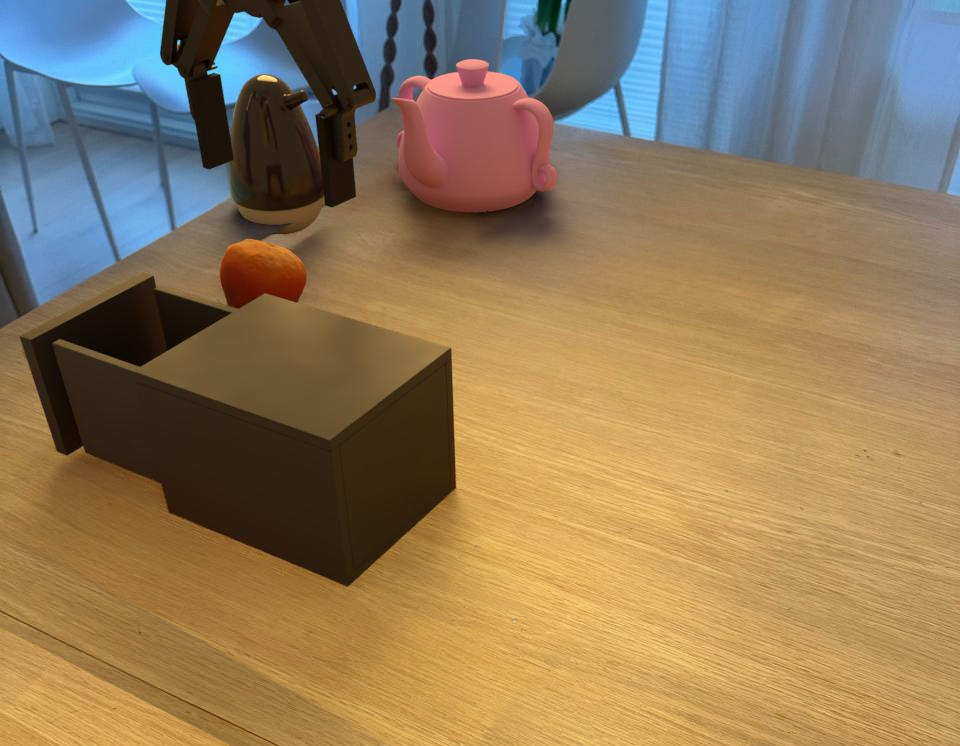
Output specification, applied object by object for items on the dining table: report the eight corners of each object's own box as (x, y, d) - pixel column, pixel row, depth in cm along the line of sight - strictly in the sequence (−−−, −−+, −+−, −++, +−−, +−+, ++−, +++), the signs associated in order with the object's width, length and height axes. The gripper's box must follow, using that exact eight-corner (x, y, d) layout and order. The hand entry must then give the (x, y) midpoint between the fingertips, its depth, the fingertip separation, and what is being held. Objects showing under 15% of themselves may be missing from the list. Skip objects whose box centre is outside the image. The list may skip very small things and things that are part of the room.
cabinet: (168, 512, 80) (132, 371, 73) (285, 427, 89) (265, 292, 81) (347, 587, 74) (329, 440, 66) (456, 488, 82) (451, 347, 74)
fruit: (190, 311, 101) (208, 223, 99) (247, 323, 108) (265, 241, 106) (255, 333, 98) (275, 242, 96) (309, 344, 105) (329, 260, 103)
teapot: (327, 210, 122) (312, 76, 113) (443, 153, 135) (438, 29, 126) (486, 255, 113) (485, 114, 103) (595, 189, 126) (602, 58, 116)
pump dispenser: (292, 252, 114) (271, 96, 104) (217, 232, 118) (190, 80, 108) (350, 219, 120) (336, 69, 110) (277, 201, 125) (257, 55, 114)
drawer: (18, 436, 87) (-22, 321, 80) (131, 369, 94) (103, 260, 88) (205, 512, 79) (177, 392, 72) (311, 432, 87) (296, 317, 80)
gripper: (414, -138, 68) (429, 202, 83) (153, -167, 80) (206, 137, 94) (332, -122, 64) (363, 235, 78) (68, -155, 75) (137, 162, 90)
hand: (277, 182), depth 86 cm, fingers open, 13 cm apart
